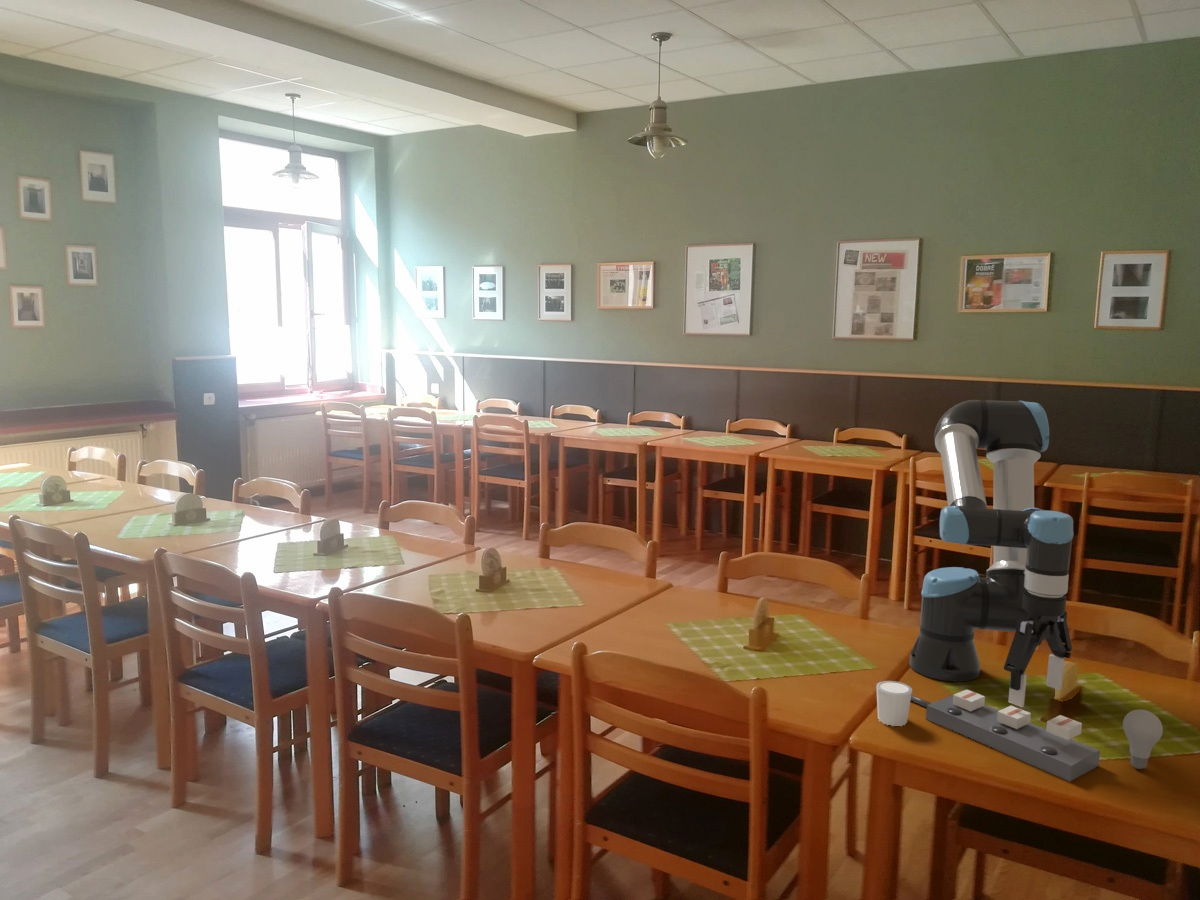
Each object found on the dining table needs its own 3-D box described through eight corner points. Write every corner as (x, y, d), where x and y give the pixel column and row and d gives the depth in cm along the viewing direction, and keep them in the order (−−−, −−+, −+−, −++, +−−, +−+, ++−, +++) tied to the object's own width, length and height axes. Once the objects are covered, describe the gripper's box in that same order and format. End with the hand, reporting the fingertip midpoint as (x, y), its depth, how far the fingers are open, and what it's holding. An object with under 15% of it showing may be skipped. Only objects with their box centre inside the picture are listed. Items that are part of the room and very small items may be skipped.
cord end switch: (966, 698, 180) (966, 689, 179) (984, 705, 176) (984, 696, 176) (952, 704, 177) (953, 694, 177) (970, 711, 174) (971, 701, 173)
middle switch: (1010, 715, 172) (1011, 705, 171) (1030, 722, 169) (1030, 712, 168) (996, 721, 169) (997, 710, 169) (1016, 729, 166) (1017, 718, 166)
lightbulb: (1111, 760, 162) (1116, 704, 160) (1142, 759, 162) (1149, 703, 160) (1133, 777, 156) (1139, 719, 154) (1166, 776, 156) (1172, 718, 154)
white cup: (912, 729, 173) (914, 695, 172) (876, 726, 174) (878, 692, 173) (907, 714, 180) (909, 681, 179) (872, 711, 181) (874, 678, 180)
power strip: (914, 690, 191) (915, 676, 191) (1098, 765, 160) (1100, 748, 159) (885, 701, 185) (886, 686, 185) (1069, 781, 154) (1071, 764, 153)
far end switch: (1059, 725, 164) (1060, 714, 163) (1081, 733, 161) (1082, 722, 160) (1046, 731, 161) (1047, 720, 161) (1067, 740, 158) (1069, 729, 158)
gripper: (1059, 576, 179) (1050, 674, 183) (989, 598, 165) (980, 704, 169) (1097, 585, 173) (1087, 687, 177) (1028, 609, 159) (1018, 719, 163)
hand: (1035, 695), depth 173 cm, fingers open, 13 cm apart
